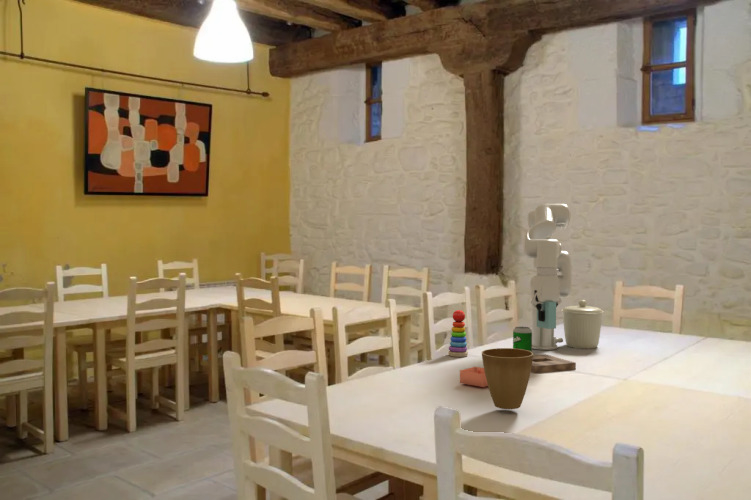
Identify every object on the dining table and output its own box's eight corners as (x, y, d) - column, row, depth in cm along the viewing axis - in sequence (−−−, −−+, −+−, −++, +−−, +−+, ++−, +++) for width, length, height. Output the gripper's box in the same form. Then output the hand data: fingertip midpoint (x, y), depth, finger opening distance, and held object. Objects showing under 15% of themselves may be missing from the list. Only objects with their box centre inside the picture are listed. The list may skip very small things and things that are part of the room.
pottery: (483, 387, 226) (483, 357, 226) (459, 382, 233) (460, 354, 233) (512, 378, 240) (512, 350, 239) (489, 374, 246) (489, 347, 246)
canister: (551, 346, 305) (552, 298, 305) (583, 343, 313) (584, 297, 312) (580, 352, 289) (580, 303, 288) (612, 349, 297) (613, 301, 296)
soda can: (530, 355, 282) (530, 326, 282) (532, 358, 275) (533, 329, 275) (511, 355, 283) (512, 326, 283) (513, 358, 276) (514, 328, 275)
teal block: (543, 326, 264) (544, 300, 263) (555, 328, 257) (556, 301, 257) (536, 326, 262) (536, 300, 262) (548, 328, 256) (548, 302, 256)
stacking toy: (468, 357, 277) (469, 311, 276) (449, 357, 277) (449, 311, 277) (466, 354, 285) (467, 309, 284) (447, 353, 285) (447, 309, 284)
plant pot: (496, 397, 212) (497, 346, 211) (541, 405, 202) (542, 351, 202) (471, 407, 200) (472, 352, 200) (517, 416, 191) (518, 359, 190)
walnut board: (545, 360, 271) (545, 350, 271) (575, 369, 255) (575, 358, 255) (507, 364, 264) (507, 353, 264) (535, 373, 248) (535, 362, 248)
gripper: (557, 271, 266) (557, 318, 266) (522, 272, 259) (522, 320, 260) (570, 272, 259) (570, 320, 260) (535, 273, 252) (534, 323, 253)
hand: (546, 320), depth 260 cm, fingers closed on teal block, 3 cm apart
